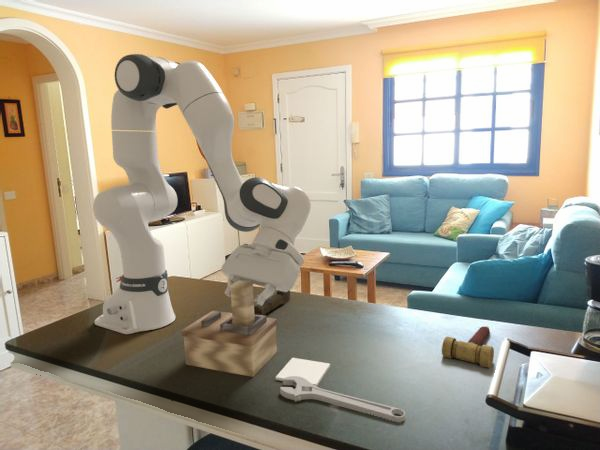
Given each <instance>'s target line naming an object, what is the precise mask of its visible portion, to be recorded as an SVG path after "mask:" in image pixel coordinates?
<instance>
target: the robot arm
mask: <svg viewBox="0 0 600 450" xmlns="http://www.w3.org/2000/svg"><path fill="white" fill-rule="evenodd" d="M114 82H115V85H116V87H117V89H118V90H116V91H115V92H114V94H113V98H112V105H111V116H110V118H111V120H110V123H111V141H112V142H111V143H112V157H113V161H114V162H115V163H116V165H118V166H119V167H120V168H122V169H123V170H124V171H125V174H126V177H127V179H128V182H129V184H124V185H122V184H121V185H116V186H113V187H112V186H111V187H110V188H107V189H105V190H103V191H100V192H99V193H98V194H96V196H95V198H94V200H93V204H92V213H93V215H94V218H95V219H96V220H97V222H98V223H99V225H101V227H104V228H105V229H107V230H108V231H110V233H111V234H112V236H113V237H114V239H115V240H116V243H117V244H118V245H117V246H118V248H119V251H120V257H121V263H122V264H121V265H122V271H123V272H122V273H123V274H122V275H120V276H119V277H116V278H115V280H116V281H115V282H116V283H118V282H119V288H118V289H117V290H115V291H114V292H113V293H112V294H111V295H110V296H108V298H106V299H105V300H104V302H103V305H102V314H101V315H99V316H98V317H96V318H95V320H94V325H96V326H98V327H101V328H104V329H108V330H111V331H114V332H117V333H120V334H123V335H130V334H134V333H139V332H147V331H150V330H157V329H161V328H163V327H166V326H168V325H169V324H172V323H174V321H175V320H176V318H177V317H176V314H175V312H174V309H173V306H172V302H171V296H170V294H169V289H168V288H169V277H168V276H169V275H168V271H167V270H166V263H165V262H166V261H165V250H164V249H165V248H164V244H163V242H161V240H159V239H157V238H156V237H154V236H153V235H152V232H151V230H150V228H149V223H151V222H156V221H160V220H162V219H164V218H167V217H168V216H170V215H172V214H173V212H175V210H176V208H177V207H178V201H179V200H178V195H177V192H176V191H175V189H174V187H172V186H171V185H170V184H169V183H168V181H167V180H166V178H165V175H164V173H163V172H162V168H161V165H160V159H159V151H158V138H157V137H158V136H157V135H158V134H157V133H158V132H157V121H156V120H157V118H156V117H157V113H158V110H159V109H160V108H161V107H162V108H163V109H170V108H172V107H174V106H178V108H179V111H180V112H181V114H182V116H183V118H184V120H185V122H186V123H187V125H188V127H189V129H190V130H191V133H192V134H193V137H194V138H195V140H196V142H197V144H198V146H199V148H200V150H201V152H202V154H203V156H204V159H205V161H206V164H207V165H208V168H209V170H210V172H211V175H212V177H213V179H214V181H215V184H216V185H217V188H218V190H219V192H220V194H221V196H222V200H223V207H224V215H225V219H226V221H227V223H228V224H229V225H230V226H231V227H232V228H234V229H235V230H237V231H240V232H244V233H245V232H246V233H248V232H252V231H255V230H256V229H258V228H259V227H260V228H259V230H258V232H257V234H256V235H255V237H254V238H253V240H252V242H251V244H248V243H243V244H241V245H239V246H237V247H236V248H235V249H234V250H233V251H232V252H231V253H230V255H228V257H227V259H226V260H225V261H224V262H223V264H222V266H221V272H222V274H223V275H224V276H226V277H227V286H226V289H225V291H224V294H225V295H226V296H227V297H229V298H231V289H230V285H232V284H233V283H235V282H237V281H249V282H253V285H256V286H259V287H263V288H264V290H263V291H261V292H260V294H258V293H257V294H255V297H254V304H256V305H261V306H262V305H263V304H264V302H265V300H267V299H269V298H271V297H272V296H274V295H275V294H274V293H275V292H276V291H278V290H279V291H283V292H288V291H289V290H290V291H291V290H292V289H293V288H294V286H295V285H296V282H297V280H298V277H299V276H300V271H301V266H303V265H304V263H305V257H304V256H303V255H302V254H301V252H300V251H299V250H298V249H297V247H296V246H294V245H295V241H296V238H297V236H299V234H300V233H301V232H302V230H303V229H304V226H305V224H306V221H307V220H308V217H309V215H310V212H311V206H312V205H311V200H310V198H309V196H308V195H307V193H306V192H305V191H304V190H303V189H301V188H299V187H298V186H295V185H288V186H287V185H286V186H285V185H279V184H276V183H272V182H270V181H269V180H268V179H265V178H263V177H258V176H257V177H250V178H248V179H246V180H245V181H243V179H242V177H241V175H240V172H239V171H238V168H237V166H236V164H235V162H234V158H233V153H232V143H233V135H234V130H235V118H234V113H233V111H232V107H231V104H230V103H229V101H228V98H227V97H226V95H225V94H224V91H223V90H222V88H221V86H220V85H219V84H218V82H217V81H216V79H215V78H214V76H213V75H212V73H211V72H210V71H209V70H208V69H207V67H206V66H205V65H204V64H202V63H201V62H199V61H197V60H186V61H183V62H177V61H173V60H170V59H167V58H163V57H160V56H156V57H155V56H150V55H149V56H148V55H144V54H140V53H133V54H132V53H130V54H127V55H124V56H122V57H121V58H120V59H119V60H118V62H117V64H116V66H115V69H114Z"/></svg>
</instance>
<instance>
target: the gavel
mask: <svg viewBox="0 0 600 450" xmlns="http://www.w3.org/2000/svg"><path fill="white" fill-rule="evenodd" d="M490 334H491V331H490V327H489V326H481V327H479V329H478V330H477V331H476V332H475V333H474V334H473V335H472V336H471V337H470V339H469V340H468V341H467V342H466V341H462V340H457V338H455V337H452V336H451V337H450V336H445V337H444V339H443V341H442V345H441V354H442V357H444V358H447V359H453V358H455V359H458V360H461V361H465V362H470V363H472V364H479V366H480V367H483V368H486V369H490V368H491V367H492V366H493V362H494V356H495V351H494V350H495V349H494V347H493V345H492V346H491V345H487V344H483V343H484V342H485V341H486V340H487V338H488V336H489V335H490ZM481 345H482V346H481Z"/></svg>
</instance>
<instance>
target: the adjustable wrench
mask: <svg viewBox="0 0 600 450" xmlns="http://www.w3.org/2000/svg"><path fill="white" fill-rule="evenodd" d="M291 386H292V387H291ZM293 386H294V387H295V388H293ZM279 390H280V391H279V393H280V395H281V396H282V397H284V398H285V399H288V400H292V401H294V402H300V401H302V400H303V401H304V400H317V401H321V402H324V403H328V404H330V405H334V406H338V407H342V408H346V409H347V410H348V409H349V410H353V411H357V412H358V413H359V412H360V413H362V414H366V413H367V414H366V415H370V414H371V415H370V416H373V415H374V417H377V416H378V417H377V418H380V417H382V418H381V419H384V418H385V419H384V420H387V419H388V420H387V421H391V420H392V421H391V422H394V421H395V422H396V423H403V422H404V421H405V420H406V412H405V410H403V409H401V408H397V407H395V406H390V405H386V404H383V403H378V402H375V401H371V400H367V399H363V398H359V397H355V396H351V395H348V394H344V393H340V392H337V391H336V392H335V391H332V390H328V389H324V388H320V387H319V386H315V385H313V384H312V383H310V382H309V381H307V380H306V379H305V378H302V377H299V376H290V377H286V378H283V381H282V386H280V388H279ZM395 414H398V415H395ZM402 421H403V422H402ZM395 422H394V423H395Z"/></svg>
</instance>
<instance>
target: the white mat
mask: <svg viewBox="0 0 600 450" xmlns="http://www.w3.org/2000/svg"><path fill="white" fill-rule="evenodd" d="M330 368H331V363H329V362H322V361H316V360H309V359H304V358H303V359H302V358H297V357H291V358H290V360H289V361H288V362H287V363H286V364H285V366H284V367H283V368H282V369H281V370H280V371H279V373H278V374H276V376H275V380H276V381H280V382H281V381H282V382H283V378H286V377H290V376H299V377H302V378H305V379H306V380H307V381H309V382H310V383H312V384H313V385H315V386H317V387H319V385H320V383H321V381H322V379H323V378H324V377H325V375H326V374H327V372H328V371H329V369H330Z"/></svg>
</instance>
